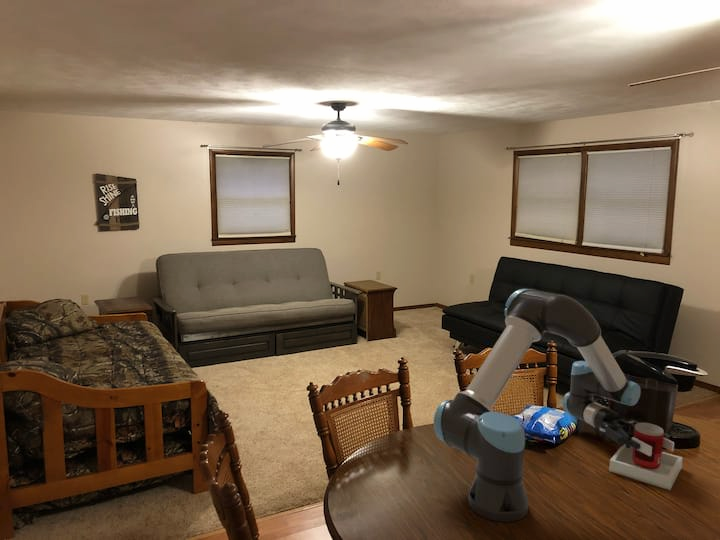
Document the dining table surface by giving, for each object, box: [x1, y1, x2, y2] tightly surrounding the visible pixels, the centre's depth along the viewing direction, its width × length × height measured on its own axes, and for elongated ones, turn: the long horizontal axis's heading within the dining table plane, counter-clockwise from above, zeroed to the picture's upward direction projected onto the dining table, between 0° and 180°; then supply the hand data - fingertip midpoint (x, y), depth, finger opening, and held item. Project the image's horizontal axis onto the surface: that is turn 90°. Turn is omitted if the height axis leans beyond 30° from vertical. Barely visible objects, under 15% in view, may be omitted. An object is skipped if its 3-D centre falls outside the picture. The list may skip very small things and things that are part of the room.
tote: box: [608, 444, 684, 491], centre depth 162 cm, size 16×16×4 cm
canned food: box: [632, 422, 665, 469], centre depth 162 cm, size 8×8×11 cm
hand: (661, 449), depth 157 cm, fingers closed on canned food, 8 cm apart
